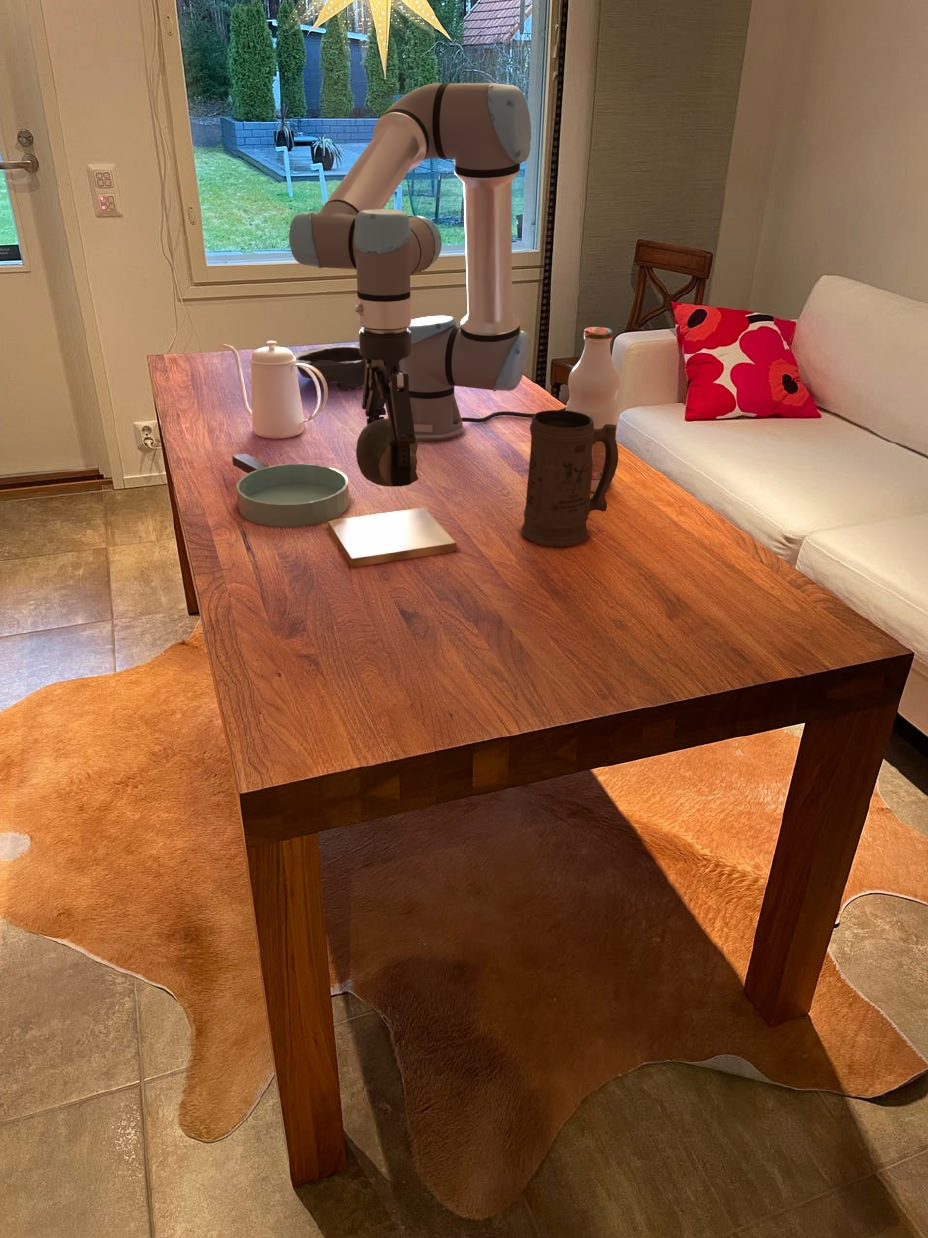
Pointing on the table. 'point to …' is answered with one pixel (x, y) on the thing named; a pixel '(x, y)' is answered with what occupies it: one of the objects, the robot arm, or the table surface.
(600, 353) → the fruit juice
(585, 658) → the table surface
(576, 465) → the beer stein
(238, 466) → the pan handle
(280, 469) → the pan
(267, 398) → the coffeepot
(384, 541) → the cutting board
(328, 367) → the stone bowl
